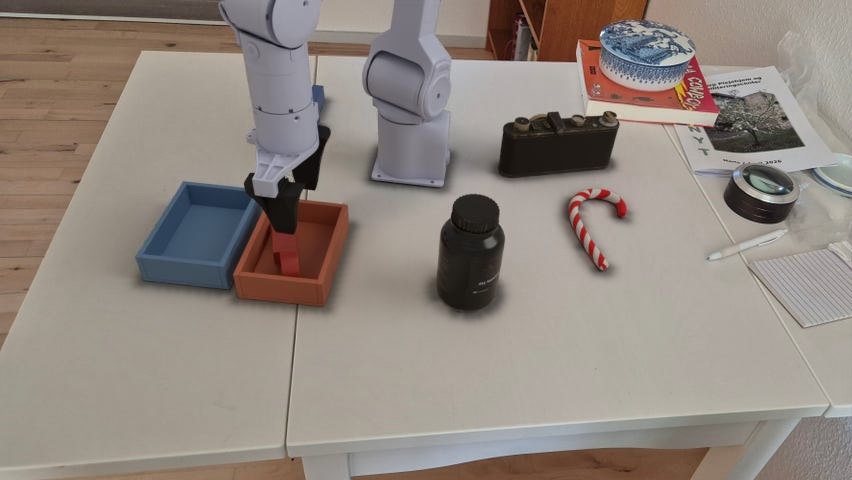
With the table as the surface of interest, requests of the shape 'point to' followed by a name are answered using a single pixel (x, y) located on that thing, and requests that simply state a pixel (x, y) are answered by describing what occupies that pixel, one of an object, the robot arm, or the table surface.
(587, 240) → the candy cane
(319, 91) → the blue spoon
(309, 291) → the red bin
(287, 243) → the red spoon
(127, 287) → the table surface
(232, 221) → the blue bin
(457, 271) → the supplement bottle
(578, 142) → the camera
